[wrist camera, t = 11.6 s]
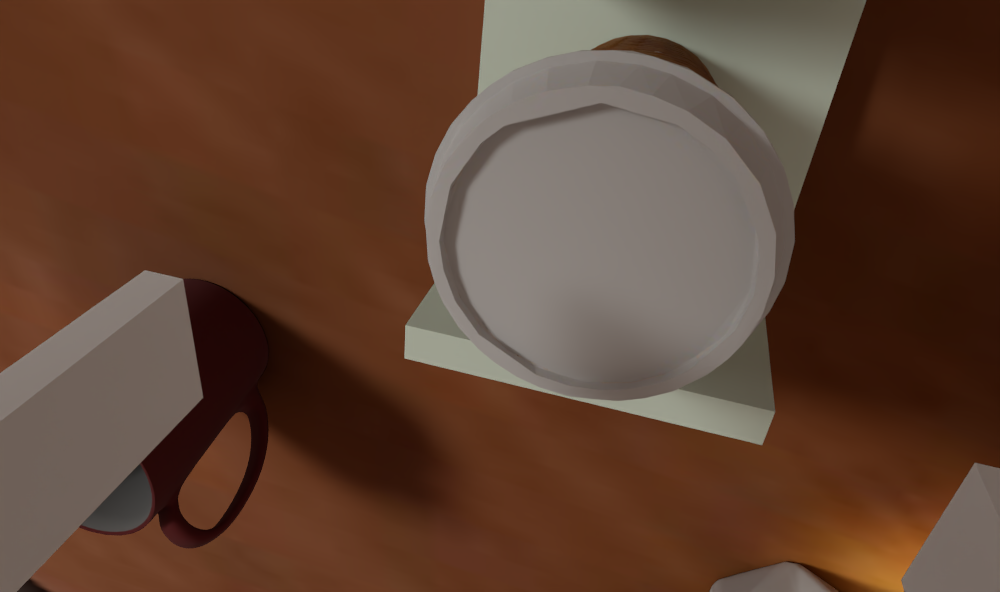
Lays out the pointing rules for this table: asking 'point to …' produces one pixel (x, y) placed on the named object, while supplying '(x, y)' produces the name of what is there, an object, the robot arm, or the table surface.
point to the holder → (735, 69)
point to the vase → (774, 580)
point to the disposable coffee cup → (608, 221)
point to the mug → (198, 423)
